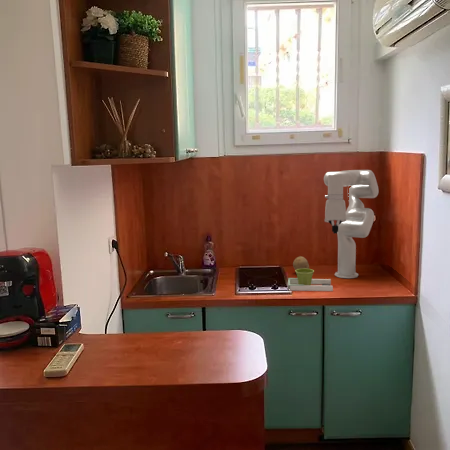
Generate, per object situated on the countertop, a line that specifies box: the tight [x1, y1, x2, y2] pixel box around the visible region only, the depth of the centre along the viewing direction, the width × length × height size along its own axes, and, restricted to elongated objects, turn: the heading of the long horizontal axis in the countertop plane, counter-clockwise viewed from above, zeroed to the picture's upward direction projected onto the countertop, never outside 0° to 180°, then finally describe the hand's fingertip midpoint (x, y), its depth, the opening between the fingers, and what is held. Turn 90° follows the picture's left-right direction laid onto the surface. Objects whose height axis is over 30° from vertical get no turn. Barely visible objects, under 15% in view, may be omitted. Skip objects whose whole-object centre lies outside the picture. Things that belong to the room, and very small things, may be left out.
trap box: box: [287, 277, 334, 292], centre depth 238 cm, size 13×22×3 cm, turn 82°
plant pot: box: [294, 268, 315, 285], centre depth 238 cm, size 9×9×9 cm
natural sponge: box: [292, 255, 310, 271], centre depth 265 cm, size 9×9×10 cm
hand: (335, 233), depth 238 cm, fingers closed
